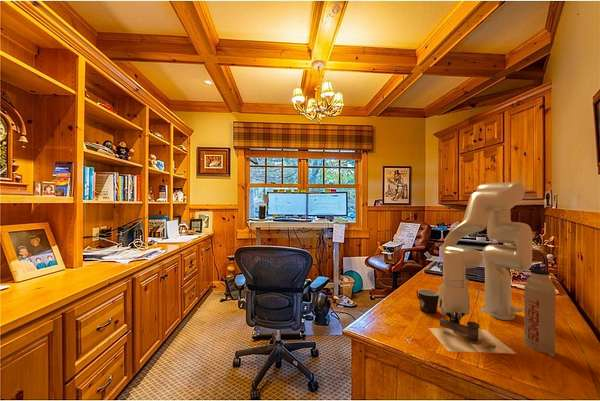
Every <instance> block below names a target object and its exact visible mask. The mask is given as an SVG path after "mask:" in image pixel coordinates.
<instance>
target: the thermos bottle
mask: <svg viewBox="0 0 600 401" xmlns="http://www.w3.org/2000/svg"><path fill="white" fill-rule="evenodd" d="M529 270H530V277H527V278H526V283H525V284H524V293H523V294H524V301H523V302H524V307H523V308H524V310H523V311H524V312H523V314H524V320H523V321H524V322H523V324H524V325H523V327H524V328H523V331H524V332H523V343H524V345H525V346H526V347H528V348H529V349H531V350H533V351H537V352H539V353H544V354H546V355H549V357H552V358H554V357H555V356H556V288H555V287H553V286H554V284H553V281H551V280H550V272H549V271H548V270H545V269H537V268H530V269H529Z"/></svg>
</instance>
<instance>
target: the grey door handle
mask: <svg viewBox="0 0 600 401" xmlns="http://www.w3.org/2000/svg"><path fill="white" fill-rule="evenodd" d="M439 326H440V327H443V328H444V329H451V330H454V331H457V332H460V333H463V334H466V335H468V339H470V340H472V341H481V342H484V343H487V344H490V345H493V346H495V343H492V342H489V341H486V340H483V339H480V338H478V329H480V327H481V326H480V324H479V323H478V322H475V321H470V320H469V321H467V322H466V325H465V324H461V323H460V324H459V323H455V322H452V321H450V319H446V318H443V317H442V318H441V317H440V319H439Z"/></svg>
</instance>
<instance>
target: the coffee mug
mask: <svg viewBox="0 0 600 401" xmlns="http://www.w3.org/2000/svg"><path fill="white" fill-rule="evenodd" d="M416 296H417V299H418V300H419V308H420V311H421V312H422V313H424V314H427V315H436V314H437V313H438V307H439V304H438V302H439V292H438V291H436V290H433V289H428V288H421V289H418V290H416Z"/></svg>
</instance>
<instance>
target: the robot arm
mask: <svg viewBox="0 0 600 401" xmlns="http://www.w3.org/2000/svg"><path fill="white" fill-rule="evenodd" d="M525 193H526V192H525V187H524V185H523V184H521V182H516V181H514V182H513V181H509V182H487V183H482V184H479V185H478V186H477V187H476V190H475V191H473V192H472V193H471V194H470V196H469V199H468V202H467V206H466V209H465V212H464V216H463V219H462V221H461V223H459V224H458V225H456V226H455V227H454V228H452V229H451V231H449V232H448V234H447V235H446V236H445V239H444V242H443V244H442V248H441V258H442V278H443V279H442V283H441V284H440V288H439V292H438V293H439V299H438V307H439V313H440V314H441V315H442V316H446V317H448V318H449V321H452V322H455V323H459V324H461V323H460V321H461V320H462V318H463V317H464V316H467V315H470V314H471V312H470V311H471V300H470V294H469V290H468V289H469V288H468V286H467V284H468V283H469V282H470V281H469V278H466V275H467V274H466V270H467V269H476V268H478V267H480V266H481V265H482V263H483V264H484V306H482V307H481V308H480V312H481V313H482V312H483V313H486V314H488V315H490V317H492V318H494V319H496V320H500V321H513V320H515V319H516V315H515V313H516V312H517V313H522V312H523V311H524V310H523V308H522V307H517V306H516V307H515V305H512V278H511V273H509V271H508V269H509V270H510V269H511V270H517V271H521V272H522V271H523V272H524V271H525V272H526V271H529V270H531V267H532V264H533V230H532V228H531V226H530V225H529V224H527V223H525V222H524V223H523V222H516V221H512V220H511V212H512V211H511V209H513V208H514V207H515V206H516V205H517V204H519V203H520V202H521V201H522V200H523V198H524V197H525ZM484 230H486V235H487V239H488V240H490V241H491V242H497V243H505V244H512V245H515V247H514V246H510V245H500V244H487V245H486V246H484V248H483V250H482V253H481V251H479V250H477V249H474V248H470V247H463V246H458V245H457V243H458V242H459V241H460V240H461V239H462V238H464V237H466V236H469V235H472V234H476V233H479V232H482V231H484Z"/></svg>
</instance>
